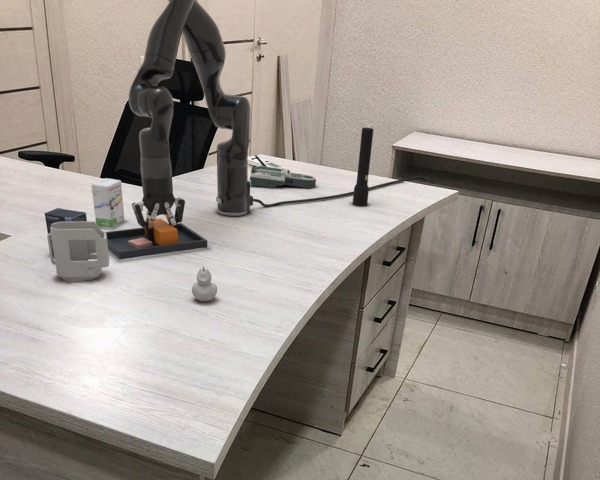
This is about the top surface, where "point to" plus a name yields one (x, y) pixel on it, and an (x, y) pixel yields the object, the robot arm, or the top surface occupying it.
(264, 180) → the communication device
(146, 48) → the robot arm
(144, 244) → the pink block
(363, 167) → the flashlight
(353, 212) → the top surface
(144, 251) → the tray
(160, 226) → the orange rectangular block
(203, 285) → the rubber duck
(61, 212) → the box
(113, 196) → the ink box
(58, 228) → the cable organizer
